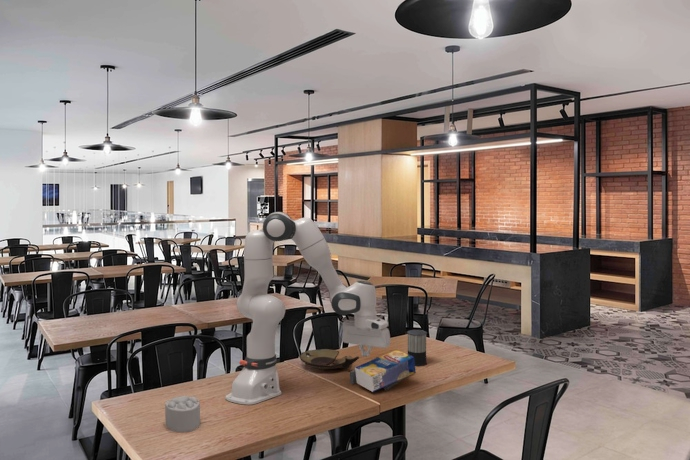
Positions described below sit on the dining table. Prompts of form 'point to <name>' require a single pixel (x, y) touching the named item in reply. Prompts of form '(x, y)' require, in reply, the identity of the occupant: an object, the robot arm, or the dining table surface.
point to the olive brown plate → (326, 359)
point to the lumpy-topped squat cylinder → (182, 414)
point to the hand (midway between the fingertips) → (365, 356)
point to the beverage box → (385, 370)
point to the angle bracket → (353, 380)
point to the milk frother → (417, 346)
